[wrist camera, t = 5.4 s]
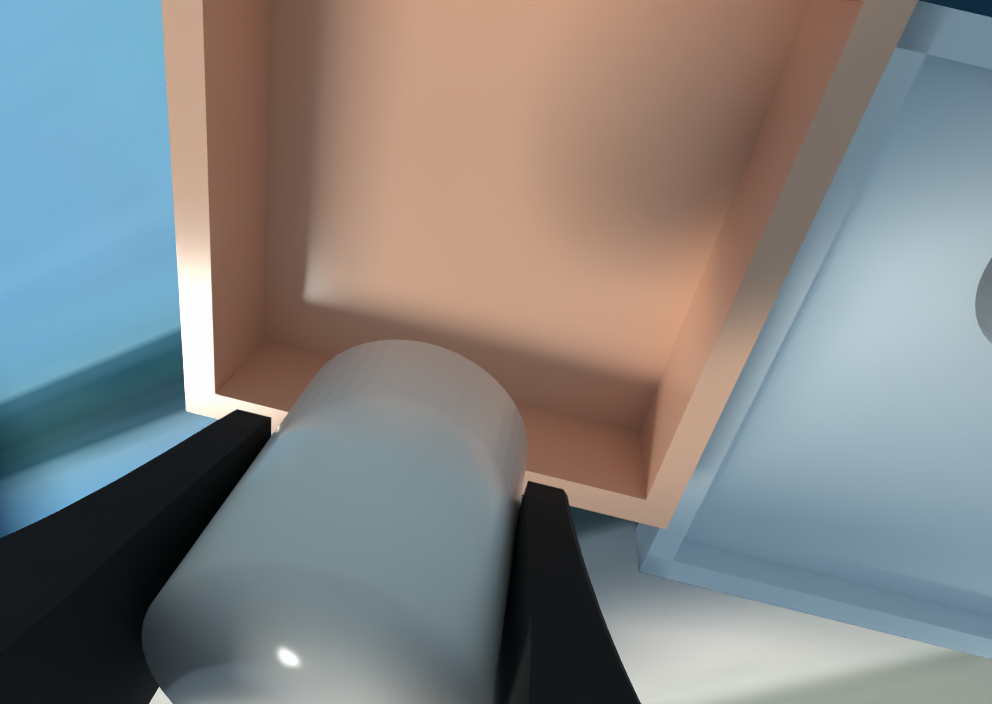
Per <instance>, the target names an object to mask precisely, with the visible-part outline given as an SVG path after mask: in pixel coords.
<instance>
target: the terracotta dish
mask: <svg viewBox="0 0 992 704" xmlns="http://www.w3.org/2000/svg"><path fill="white" fill-rule="evenodd" d="M161 1H162V18H163V34H164V51H165V67H166V84H167V100H168V117H169V133H170V150H171V166H172V183H173V200H174V216H175V233H176V249H177V266H178V282H179V299H180V315H181V332H182V348H183V365H184V381H185V398H186V411H187V412H191V413H195V414H199V415H204V416H208V417H212V418H216V419H221V418H222V417H224V416H226V415H228V414H229V413H231V412H233V411H234V410H236V409H239V410H243V411H247V412H251V413H255V414H259V415H263V416H267V417H272V418H271V432H273V433H274V432H275V431H276V429H277V428H278V426H279V425H280V424H281V422H282V421H283V419H284V418H285V417H286V415H287V414H288V412H289V411H290V410H291V408H292V407H293V405H294V404H295V403H296V401H297V400H298V398H299V397H300V396H301V394H302V393H303V392H304V390H305V389H306V387H307V386H308V385H309V383H310V382H311V380H312V379H313V378H314V376H315V375H316V373H317V372H318V371H319V370H320V369H321V368H322V367H323V366H324V365H325V364H326V363H327V362H328V361H330V360H331V359H332V358H334V357H335V356H336V355H338V354H340V353H342V352H344V351H346V350H348V349H350V348H352V347H355V346H358V345H361V344H364V343H369V342H374V341H379V340H393V339H397V340H412V341H419V342H425V343H429V344H433V345H436V346H440V347H443V348H445V349H448V350H450V351H453V352H455V353H458V354H460V355H461V356H463V357H465V358H467V359H469V360H471V361H472V362H474V363H475V364H477V365H478V366H480V367H481V368H482V369H484V370H485V371H487V372H488V373H489V374H490V375H491V376H492V377H493V378H494V379H495V380H497V381H498V382H499V384H500V385H501V386H502V387H503V388H504V389H505V390H506V392H507V393H508V394H509V396H510V397H511V399H512V400H513V402H514V403H515V405H516V407H517V409H518V411H519V413H520V415H521V417H522V420H523V423H524V426H525V429H526V435H527V442H528V455H527V462H526V469H525V476H524V483H523V490H522V494H524V492H525V489H526V485H527V482H528V481H532V482H536V483H540V484H544V485H548V486H552V487H556V488H560V489H563V490H564V491H565V493H566V494H567V496H568V501H569V506H573V507H577V508H581V509H585V510H589V511H593V512H597V513H601V514H606V515H610V516H614V517H618V518H622V519H626V520H630V521H634V522H638V523H642V524H646V525H650V526H654V527H658V528H662V529H667V526H668V524H669V522H670V520H671V518H672V516H673V514H674V512H675V510H676V508H677V505H678V503H679V501H680V499H681V497H682V495H683V493H684V491H685V489H686V487H687V484H688V482H689V480H690V478H691V476H692V474H693V472H694V470H695V468H696V466H697V463H698V461H699V459H700V457H701V455H702V453H703V451H704V449H705V447H706V445H707V442H708V440H709V438H710V436H711V434H712V432H713V430H714V428H715V426H716V424H717V421H718V419H719V417H720V415H721V413H722V411H723V409H724V407H725V405H726V403H727V400H728V398H729V396H730V394H731V392H732V390H733V388H734V386H735V384H736V382H737V379H738V377H739V375H740V373H741V371H742V369H743V367H744V365H745V363H746V361H747V359H748V356H749V354H750V352H751V350H752V348H753V346H754V344H755V342H756V340H757V338H758V335H759V333H760V331H761V329H762V327H763V325H764V323H765V321H766V319H767V317H768V314H769V312H770V310H771V308H772V306H773V304H774V302H775V300H776V298H777V296H778V293H779V291H780V289H781V287H782V285H783V283H784V281H785V279H786V277H787V275H788V272H789V270H790V268H791V266H792V264H793V262H794V260H795V258H796V256H797V254H798V251H799V249H800V247H801V245H802V243H803V241H804V239H805V237H806V235H807V233H808V230H809V228H810V226H811V224H812V222H813V220H814V218H815V216H816V214H817V212H818V209H819V207H820V205H821V203H822V201H823V199H824V197H825V195H826V193H827V191H828V188H829V186H830V184H831V182H832V180H833V178H834V176H835V174H836V172H837V170H838V167H839V165H840V163H841V161H842V159H843V157H844V155H845V153H846V151H847V149H848V146H849V144H850V142H851V140H852V138H853V136H854V134H855V132H856V130H857V128H858V125H859V123H860V121H861V119H862V117H863V115H864V113H865V111H866V109H867V107H868V104H869V102H870V100H871V98H872V96H873V94H874V92H875V90H876V88H877V86H878V84H879V81H880V79H881V77H882V75H883V73H884V71H885V69H886V67H887V65H888V63H889V60H890V58H891V56H892V54H893V52H894V50H895V48H896V46H897V44H898V42H899V39H900V37H901V35H902V33H903V31H904V29H905V27H906V25H907V23H908V21H909V18H910V16H911V14H912V12H913V10H914V8H915V6H916V4H917V2H918V0H161Z"/></svg>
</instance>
